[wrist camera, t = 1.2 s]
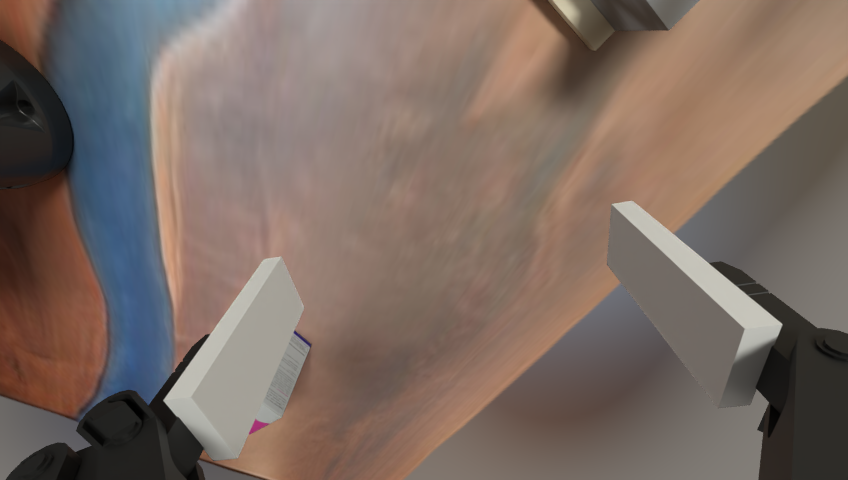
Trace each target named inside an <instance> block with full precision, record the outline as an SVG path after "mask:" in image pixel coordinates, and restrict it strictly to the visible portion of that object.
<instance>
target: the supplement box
mask: <svg viewBox="0 0 848 480" xmlns="http://www.w3.org/2000/svg"><path fill="white" fill-rule="evenodd" d="M310 347H311V344H310V343H309V342H308V341H307V340H306V339H304V338H303V337H302V336H301V335H300V334H298V333H297V332H296V331H295V330H294V332H293V335H292V337H291V339H290V342H289V344H288V346H287V348H286V351H285V353H284V355H283V357H282V360H281V362H280V364H279V366H278V369H277V371H276V373H275V375H274V378H273V380H272V382H271V385H270V387H269V389H268V391H267V394H266V396H265V398H264V400H263V403H262V405H261V407H260V409H259V412H258V414H257V416H256V418H255V421H254V423H253V425H252V428H251V430H250V432H249V434H251V433H253V432H255V431H257V430H259V429H261V428H263V427H265V426H267V425H268V424H270V423H272V422H274V421H276V420H278V419H280V418H282V416H283V413H284V411H285V408H286V406H287V403H288V401H289V398H290V396H291V394H292V391H293V389H294V386H295V384H296V381H297V379H298V376H299V374H300V371H301V369H302V366H303V364H304V361H305V359H306V357H307V354H308V352H309V349H310Z"/></svg>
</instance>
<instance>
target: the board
mask: <svg viewBox="0 0 848 480" xmlns="http://www.w3.org/2000/svg"><path fill="white" fill-rule="evenodd" d="M698 1H699V0H548V2H549V3H550V4H551V5H552V6H553V7H554V9H555V10H556V11H557V12H558V13H559V14H560V15H561V17H562V18H563V19H564V20H565V21H566V22H567V24H568V25H569V26H570V27H571V28H572V29H573V31H574V32H575V33H576V34H577V35H578V36H579V37H580V39H581V40H582V41H583V42H584V43H585V44H586V46H587V47H588V48H589V49H590V50H592V51H596V50H597V49H598V48H599V47H600V46H601V45H602V44H603V43H604V42H605V41H606V40H607V39H608V38H609V37H610V36H611V34H612V33H613V32H614V31H641V30H670V29H671V28H672V27H673V26H674V25H675V24H676V23H677V22H678V21H679V20H680V19H681V18H682V17H683V16H684V15H685V14H686V13H687V12H688V11H689V10H690V9H691V8H692V7H693V6H694V5H695V4H696V3H697V2H698Z"/></svg>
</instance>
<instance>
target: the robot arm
mask: <svg viewBox="0 0 848 480" xmlns="http://www.w3.org/2000/svg"><path fill="white" fill-rule="evenodd" d="M71 152H72V132H71V127H70V123H69V120H68V117H67V115H66V112H65V110H64V108H63V106H62V104H61V102H60V100H59V98H58V97H57V95H56V94H55V92H54V91H53V89H52V88H51V86H50V85H49V84H48V82H47V81H46V80H45V79H44V78H43V76H42V75H41V74H40V73H39V72H38V71H37V70H36V69H35V68H34V67H33V66H32V65H31V64H30V63H29V62H28V61H27V60H26V59H25V58H24V57H23V56H21V55H20V54H19V53H18V52H17V51H15V50H14V49H13V48H11V47H10V46H9V45H7V44H6V43H4V42H3V41H1V40H0V189H15V188H22V187H27V186H31V185H33V184H36V183H39V182H41V181H44V180H47V179H49V178H51V177H53V176H55V175H57V174H58V173H60V172H61V171H62V170H63V169H64V167H65V166H66V165H67V163H68V161H69V159H70V156H71ZM607 265H608V266H609V268H610V269H611V270H612V272H613V273H614V274H615V276H616V277H617V278H618V279H619V281H620V282H621V283H622V284H623V286H624V287H625V288H626V290H627V291H628V292H629V294H630V295H631V296H632V298H633V299H634V300H635V301H636V303H637V304H638V305H639V307H640V308H641V309H642V310H643V312H644V313H645V314H646V316H647V317H648V318H649V319H650V321H651V322H652V323H653V325H654V326H655V327H656V329H657V330H658V331H659V332H660V334H661V335H662V336H663V338H664V339H665V340H666V341H667V343H668V344H669V345H670V347H671V348H672V349H673V350H674V352H675V353H676V354H677V356H678V357H679V358H680V359H681V361H682V362H683V363H684V365H685V366H686V367H687V369H688V370H689V371H690V372H691V374H692V375H693V376H694V378H695V379H696V380H697V382H698V383H699V384H700V385H701V387H702V388H703V389H704V391H705V392H706V393H707V394H708V396H709V397H710V398H711V400H712V401H713V402H714V403H715V405H716V406H717V407H718V408H726V407H736V406H745V405H750V404H751V402H752V399H753V396H754V394H755V392H756V389H757V390H758V391H759V392H760V393H761V394H762V395H763V396H764V397H765V398H766V399H767V401H768V402H769V405H768V407H767V409H766V411H765V413H764V416H763V418H762V420H761V423H760V425H759V427H758V430H759V431H761V432H763V441H762V450H761V460H760V470H759V480H848V334H847V333H844V332H841V331H837V330H831V329H824V328H816V327H815V326H814V325H813V324H811V323H810V322H808V321H807V320H806V319H804V318H803V317H802V316H801V315H799V314H798V313H796V312H795V311H794V310H793V309H791V308H790V307H789V306H787V305H786V304H785V303H784V302H782V301H781V300H779V299H778V298H777V297H776V296H774V295H773V294H772V293H770V294H769V293H768V290H766V289H765V288H764V287H763V286H761V285H760V284H756V281H755V280H753V279H752V278H751V277H749V276H748V275H747V274H745V273H744V272H743V271H741V270H740V269H737V268H735V267H733V266H730V265H728V264H726V263H723V262H713V263H708V262H706V261H705V260H704V259H703V258H701V257H700V256H699V255H698V254H697V253H695V252H694V251H693V250H692V249H691V248H689V247H688V246H687V245H685V244H684V243H683V242H682V241H681V240H679V239H678V238H677V237H676V236H675V235H673V234H672V233H671V232H670V231H669V230H667V229H666V228H665V227H664V226H663V225H661V224H660V223H659V222H658V221H656V220H655V219H654V218H653V217H652V216H650V215H649V214H648V213H647V212H646V211H644V210H643V209H642V208H641V207H639V206H638V205H637V204H636V203H635V202H633V201H628V202H622V203H615V204H611V216H610V229H609V242H608V255H607ZM303 310H304V306H303V303H302V301H301V299H300V297H299V294H298V292H297V290H296V288H295V285H294V283H293V281H292V279H291V277H290V274H289V272H288V270H287V268H286V265H285V263H284V261H283V259H282V256H281V257H275V258H269V259H264V260H263V261H262V263H261V264H260V266H259V267H258V268H257V270H256V271H255V273H254V274H253V275H252V277H251V278H250V280H249V281H248V282H247V284H246V285H245V287H244V288H243V289H242V291H241V292H240V294H239V295H238V296H237V298H236V299H235V301H234V302H233V303H232V305H231V306H230V308H229V309H228V310H227V312H226V313H225V315H224V316H223V317H222V319H221V320H220V322H219V323H218V324H217V326H216V327H215V329H214V330H213V331H212V333H211V334H207V335H205V336H204V337H203V338H202V339H200V340H199V341H198V342H197V343H196V344H195V345H194V346H192V348H191V349H190V350H189V352H188V353H187V354H186V356H185V357H184V358H183V362H180V364H179V365H178V366H177V368H176V369H175V372H174V373H172V375H171V376H170V377H169V379H168V380H167V381H166V383H165V384H164V385H163V387H162V388H161V389H160V391H159V392H158V393H157V395H156V396H155V397H154V399H153V400H152V401H151V403H150V404H149V405H147V404H146V402H145V401H144V400H143V399H142V398H141V397H140V396H139V394H138V393H137V392H136V391H133V390H126V391H121V392H118V393H116V394H114V395H111V396H109V397H107V398H106V399H104V400H103V401H101V402H100V403H98V404H97V405H96V406H94V407H93V408H92V409H91V410H90V411H89V412H88V413H86V415H85V416H84V417H83V419H82V420H81V421H80V422H79V425H78V427H77V430H76V431H77V432H78V433H79V434H80V435H81V436H82V437H83V438H84V439H86V441H88V442H89V443H90V444H91V445H92V446H90V447H87V448H85V449H82V450H79V451H77V452H74V451H73V450H72V449H71V448H70V447H69V446H68V445H67V444H65V443H55V444H52V445H49V446H46V447H44V448H42V449H41V450H39V451H37V452H35V453H33V454H32V455H30V456H29V457H28V458H26V459H25V460H23V461H22V462H21V463H20V464H19V465H18V466H17V467H16V468H15V469H14V470H13V471H12V472H11V473H10V474H9V476H8V477H7V479H6V480H205V477H204V474H203V470H202V468H201V466H200V465H199V464H198V462H197V461H198V459H199V457H200V455H201V453H202V451H203V449H204V450H205V452H206V453H207V454H208V455H209V456H210V458H211V459H212V460H213V461H218V460H227V459H237V458H238V457H239V455H240V452H241V450H242V448H243V446H244V443H245V441H246V439H247V437H248V434H249V432H250V430H251V428H252V425H253V423H254V421H255V418H256V416H257V414H258V412H259V409H260V407H261V405H262V403H263V400H264V398H265V396H266V394H267V391H268V389H269V387H270V385H271V382H272V380H273V378H274V375H275V373H276V371H277V369H278V366H279V364H280V362H281V360H282V357H283V355H284V353H285V351H286V348H287V346H288V344H289V342H290V339H291V337H292V335H293V332H294V330H295V328H296V326H297V323H298V321H299V319H300V317H301V314H302V312H303Z"/></svg>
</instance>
